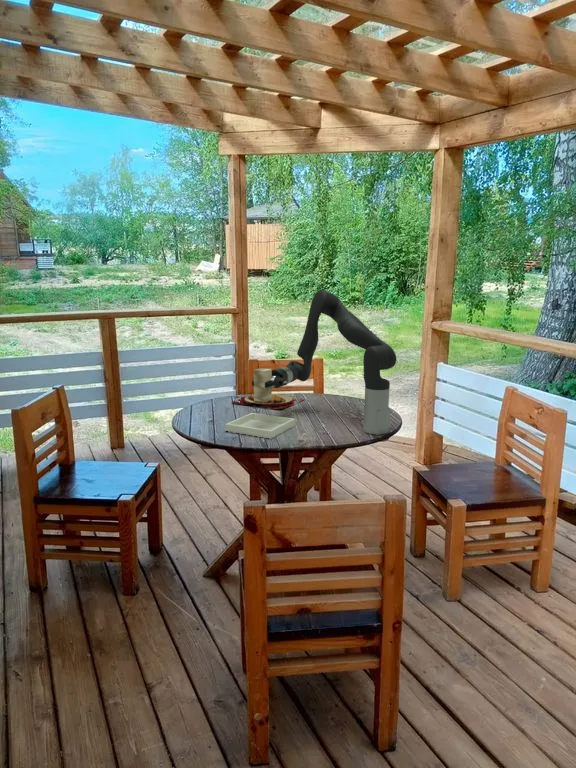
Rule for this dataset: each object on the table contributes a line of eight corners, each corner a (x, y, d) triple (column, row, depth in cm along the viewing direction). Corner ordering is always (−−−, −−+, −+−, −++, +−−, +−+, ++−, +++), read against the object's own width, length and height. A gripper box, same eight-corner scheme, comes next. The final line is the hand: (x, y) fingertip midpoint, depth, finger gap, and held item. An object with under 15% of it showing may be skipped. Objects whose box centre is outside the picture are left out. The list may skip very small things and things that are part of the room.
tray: (295, 426, 219) (295, 418, 218) (271, 439, 202) (271, 431, 201) (252, 419, 228) (251, 412, 227) (225, 431, 211) (225, 424, 210)
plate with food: (281, 412, 243) (281, 404, 242) (230, 404, 255) (231, 396, 254) (305, 402, 265) (305, 395, 264) (258, 395, 277) (258, 388, 276)
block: (271, 399, 215) (271, 369, 212) (265, 402, 211) (265, 371, 208) (260, 397, 217) (260, 368, 215) (253, 400, 213) (253, 370, 210)
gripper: (265, 366, 227) (243, 373, 213) (296, 369, 221) (275, 376, 206) (265, 384, 229) (243, 392, 214) (295, 387, 222) (275, 396, 208)
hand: (259, 384), depth 210 cm, fingers closed on block, 5 cm apart
